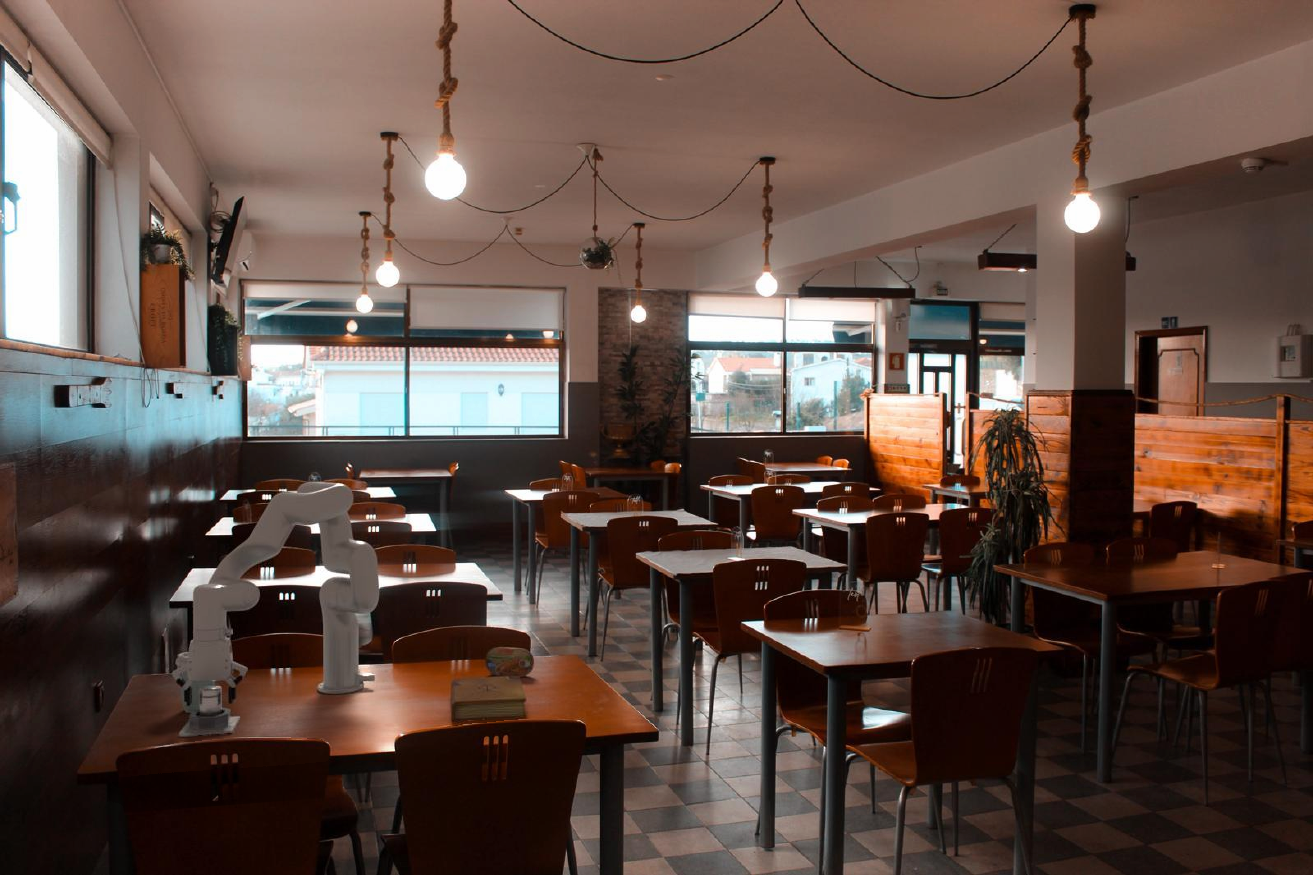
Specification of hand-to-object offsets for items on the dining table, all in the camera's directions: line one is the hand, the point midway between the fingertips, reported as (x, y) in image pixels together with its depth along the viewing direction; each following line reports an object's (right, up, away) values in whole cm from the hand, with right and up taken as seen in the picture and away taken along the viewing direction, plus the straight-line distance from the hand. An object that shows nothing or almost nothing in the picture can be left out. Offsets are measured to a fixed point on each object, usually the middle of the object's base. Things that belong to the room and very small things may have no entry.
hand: (210, 703), depth 256 cm
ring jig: (0, -6, 0) cm, 6 cm away
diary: (+65, -7, +20) cm, 69 cm away
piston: (0, -5, 0) cm, 5 cm away
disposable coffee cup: (-10, -6, +15) cm, 19 cm away
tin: (+67, -5, +53) cm, 85 cm away
